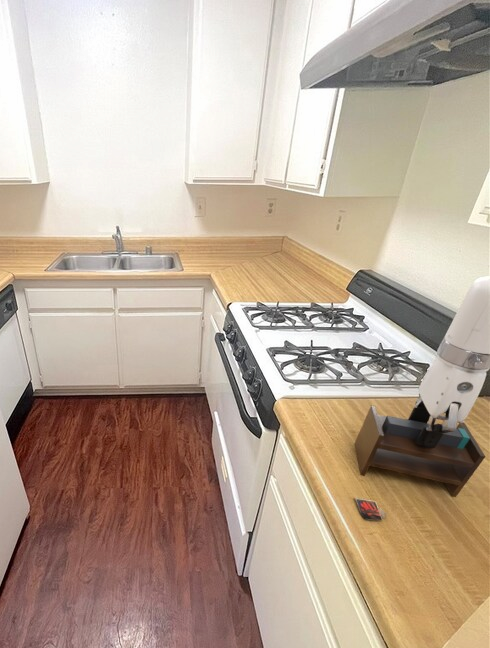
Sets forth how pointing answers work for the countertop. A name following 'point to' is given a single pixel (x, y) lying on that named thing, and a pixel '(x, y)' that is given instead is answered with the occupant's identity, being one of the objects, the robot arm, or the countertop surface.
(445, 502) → the countertop surface
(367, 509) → the matchbox
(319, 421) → the countertop surface
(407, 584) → the countertop surface
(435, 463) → the desk shelf
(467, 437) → the marker pen
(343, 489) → the countertop surface
